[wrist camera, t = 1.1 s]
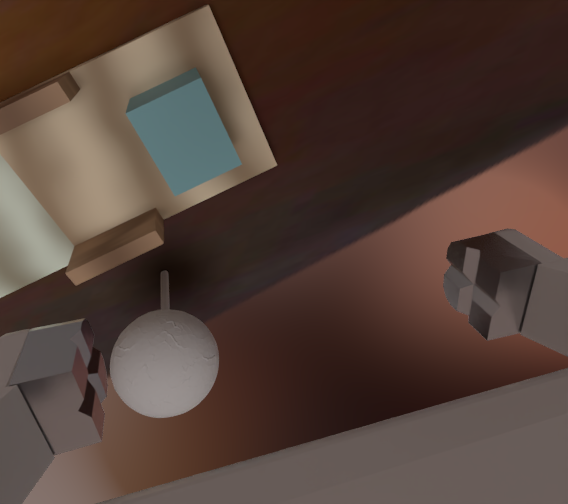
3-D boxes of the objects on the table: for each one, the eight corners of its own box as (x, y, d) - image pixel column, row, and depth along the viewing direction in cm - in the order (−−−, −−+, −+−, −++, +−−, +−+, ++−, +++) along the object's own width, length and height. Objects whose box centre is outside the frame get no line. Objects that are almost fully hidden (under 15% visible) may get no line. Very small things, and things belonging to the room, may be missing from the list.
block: (195, 67, 30) (200, 77, 27) (232, 145, 34) (242, 164, 30) (129, 98, 30) (125, 113, 27) (173, 173, 34) (175, 196, 30)
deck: (206, 4, 30) (215, 6, 25) (271, 157, 37) (289, 183, 32) (-257, 224, 30) (-340, 270, 25) (-109, 339, 37) (-152, 394, 32)
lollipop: (173, 317, 42) (179, 454, 30) (105, 282, 39) (80, 420, 26) (220, 264, 41) (247, 385, 28) (154, 223, 37) (151, 340, 25)
